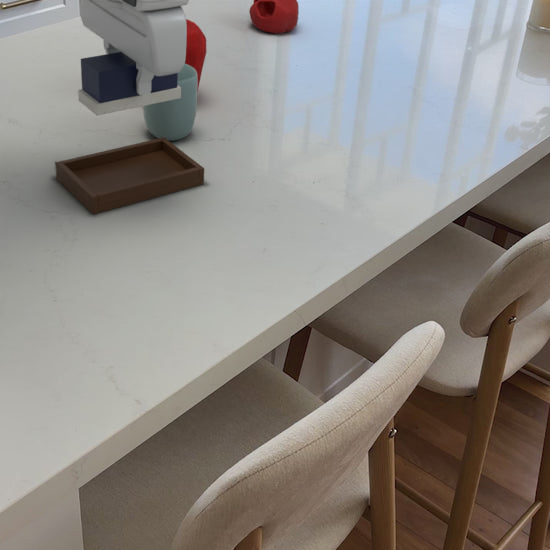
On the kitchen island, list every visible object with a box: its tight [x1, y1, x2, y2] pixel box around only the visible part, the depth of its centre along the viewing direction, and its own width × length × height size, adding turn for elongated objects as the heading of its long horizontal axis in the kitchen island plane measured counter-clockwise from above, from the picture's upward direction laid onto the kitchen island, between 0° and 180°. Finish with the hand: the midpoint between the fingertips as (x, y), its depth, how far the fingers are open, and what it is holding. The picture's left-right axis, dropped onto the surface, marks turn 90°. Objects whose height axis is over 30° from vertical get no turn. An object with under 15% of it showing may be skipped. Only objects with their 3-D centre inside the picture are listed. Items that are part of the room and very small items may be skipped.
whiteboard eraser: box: [77, 52, 181, 116], centre depth 111 cm, size 12×5×6 cm, turn 126°
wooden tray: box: [55, 137, 205, 215], centre depth 119 cm, size 17×11×2 cm, turn 127°
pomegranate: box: [248, 0, 300, 34], centre depth 173 cm, size 10×10×9 cm
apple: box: [185, 18, 207, 93], centre depth 139 cm, size 10×10×14 cm
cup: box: [142, 64, 198, 142], centre depth 130 cm, size 8×8×10 cm
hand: (130, 84), depth 112 cm, fingers closed on whiteboard eraser, 5 cm apart
